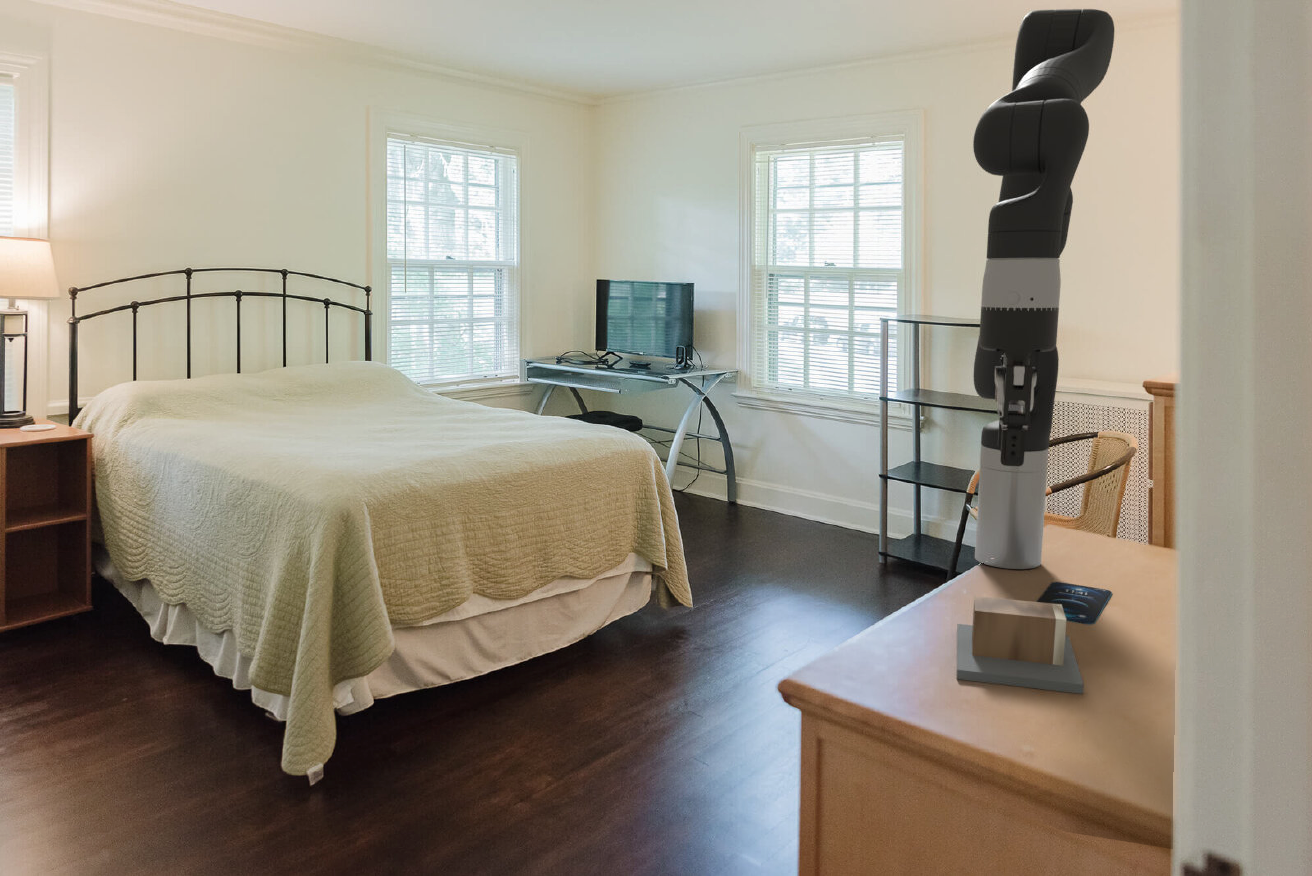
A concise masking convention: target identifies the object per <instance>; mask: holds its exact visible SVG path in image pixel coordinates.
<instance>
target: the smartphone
mask: <svg viewBox="0 0 1312 876" xmlns="http://www.w3.org/2000/svg"><path fill="white" fill-rule="evenodd" d="M1112 595H1113V591H1111V590H1108V589H1105V588H1099V587H1091V586H1087V585H1086V586H1085V585H1080V584H1073V583H1068V582H1061V581H1053V582H1051V583H1050V584H1049V585H1048V586H1047V588H1046V589H1045V590H1044V591H1043V592H1042V594H1041V595H1040V596H1039V597H1038V599H1037V600H1036V602H1041V603H1052V604H1062V607H1063V610H1064V614H1065V617H1066V622H1069V623H1074V624H1075V623H1076V624H1082V625H1088V626H1091V625H1095V624H1096V622H1097V621H1098V619H1099V617H1100V616H1101V614H1102V612H1103V610H1104V609H1105V607H1106V606H1107V604H1108V602H1109V601H1110V600H1111V597H1112Z"/></svg>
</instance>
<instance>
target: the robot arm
mask: <svg viewBox="0 0 1312 876" xmlns="http://www.w3.org/2000/svg"><path fill="white" fill-rule="evenodd" d="M1017 33H1018V34H1017V38H1016V42H1015V44H1016V45H1015V50H1014V51H1015V52H1014V61H1013V71H1012V72H1013V73H1012V84H1011V85H1012V86H1011V91H1010V92H1009V93H1008V92H1007V94H1004V95H1003V96H1001V97H999V98H998V99H997V100H995V101H994V102H992V103H991V104H990V105H989V106H988V107H987V108H986V109H985V110H984V112H983V113H982V115H981V117H980V119H979V120H978V123H977V125H976V127H975V131H974V135H973V144H972V145H973V154H974V157H975V160H976V162H977V164H978V165H979V167H980V168H981V169H982V170H983V171H985V172H986V173H988V174H990V175H993V176H999V177H1000V176H1001V177H1002V179H1001V185H1000V191H999V197H998V202H997V203H995V204H994V205H993V206H992V207H991V209H990V212H989V216H988V226H987V242H986V244H987V245H986V262H985V267H984V273H983V278H982V288H981V303H980V304H981V305H980V319H979V320H980V321H979V336H978V339H977V345H976V351H975V355H974V363H973V385H974V389H975V391H976V394H977V395H978V396H979V397H981V398H982V399H986V400H987V399H988V400H995V402H996V408H997V411H996V412H997V413H998V417H999V419H996V420H994V421H992V422H989V423H987V424H985V425H984V426H983V428H982V431H981V438H980V439H981V440H980V453H979V454H980V455H979V456H980V458H979V474H978V476H979V477H978V492H977V494H978V495H977V513H976V528H975V529H976V530H975V542H974V543H975V545H974V560H976V561H978V562H979V563H982V564H983V563H984V564H983V565H987V566H991V567H996V568H1001V569H1008V570H1009V569H1011V570H1026V569H1028V570H1029V569H1035V568H1037V567H1039V566H1041V564H1042V553H1043V551H1042V550H1043V538H1044V527H1045V526H1044V524H1045V509H1046V497H1047V496H1046V495H1047V494H1046V493H1047V479H1048V464H1049V463H1048V462H1049V448H1050V439H1051V434H1052V433H1051V432H1052V426H1053V416H1054V406H1055V400H1056V399H1055V398H1056V392H1057V383H1058V376H1059V375H1058V374H1059V363H1060V362H1059V350H1058V346H1057V344H1058V343H1057V342H1058V327H1059V314H1060V313H1059V312H1060V297H1061V283H1062V281H1061V266H1060V264H1061V263H1060V262H1061V261H1060V258H1061V255H1062V253H1063V251H1064V249H1065V247H1066V244H1067V240H1068V235H1069V227H1070V222H1071V216H1072V211H1073V203H1074V196H1073V192H1072V188H1071V186H1072V183H1073V181H1074V178H1075V176H1076V175H1075V174H1076V172H1077V170H1078V168H1079V164H1080V161H1081V160H1082V156H1083V154H1084V151H1085V148H1086V146H1087V142H1088V138H1089V135H1090V134H1089V132H1090V121H1089V120H1090V119H1089V117H1088V114H1087V112H1086V110H1085V108H1084V107H1083V105H1082V102H1084V101H1085V99H1087V98H1088V97H1089V96H1090V95H1091V94H1092V93H1093V92H1094V91H1095V90H1096V89H1097V88H1098V87H1099V86H1100V85H1101V83H1102V81H1103V80H1104V79H1105V76H1106V75H1107V73H1108V68H1110V63H1111V59H1112V54H1113V50H1114V41H1115V24H1114V20H1113V17H1112V16H1111V15H1110V14H1109V12H1107V11H1104V10H1100V9H1094V8H1082V9H1081V8H1072V9H1069V8H1068V9H1067V8H1066V9H1065V8H1064V9H1063V8H1062V9H1035V10H1031V11H1029V12H1028V13H1026V14H1025V15H1024V17H1023V19H1022V21H1021V23H1020V26H1019V30H1018V32H1017ZM997 413H996V414H997ZM991 558H994V559H991ZM986 561H987V562H986Z"/></svg>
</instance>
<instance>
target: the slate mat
mask: <svg viewBox="0 0 1312 876" xmlns="http://www.w3.org/2000/svg"><path fill="white" fill-rule="evenodd" d="M972 627H973V624H962V623H957V629H956V680H965V681H972V682H979V683H981V682H982V683H989V684H997V685H1005V686H1014V687H1020V688H1021V687H1022V688H1029V689H1030V688H1031V689H1038V690H1046V691H1054V692H1055V691H1056V692H1063V693H1072V694H1080V695H1084V682H1083V678H1082V675H1081V670H1080V668H1079V665H1078V661H1077V660H1076V659H1077V658H1076V656H1075V652H1074V650H1073V646H1072V643H1071V639H1070V635H1068V634H1065V646H1064V660H1063V666H1062V665H1054V664H1045V663H1036V662H1027V661H1019V660H1010V659H1001V658H992V657H983V656H975V655H972Z"/></svg>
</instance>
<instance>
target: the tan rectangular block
mask: <svg viewBox="0 0 1312 876" xmlns="http://www.w3.org/2000/svg"><path fill="white" fill-rule="evenodd" d="M972 625H973V627H972V655H975V656H983V657H992V658H1001V659H1010V660H1019V661H1027V662H1036V663H1045V664H1054V665H1062V666H1063V660H1064V646H1065V635H1066V630H1067V628H1066V627H1067V621H1066V617H1065V614H1064V610H1063V607H1062V604H1052V603H1041V602H1037V601H1029V600H1020V599H1019V600H1018V599H1009V598H1008V599H1007V598H1000V597H999V598H998V597H987V596H976V595H974V596H973V613H972Z"/></svg>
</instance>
